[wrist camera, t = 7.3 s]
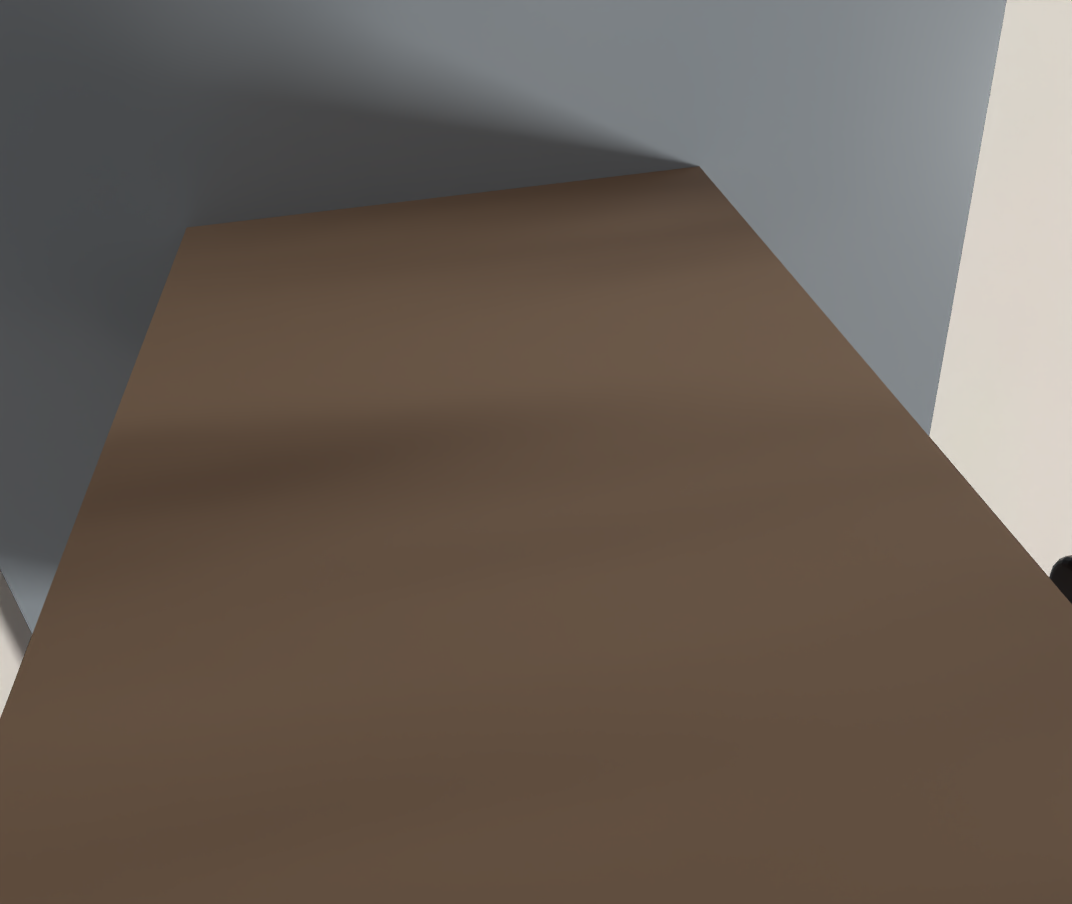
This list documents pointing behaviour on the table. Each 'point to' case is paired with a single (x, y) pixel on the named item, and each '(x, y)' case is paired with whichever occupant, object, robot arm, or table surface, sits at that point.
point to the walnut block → (529, 588)
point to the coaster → (453, 164)
